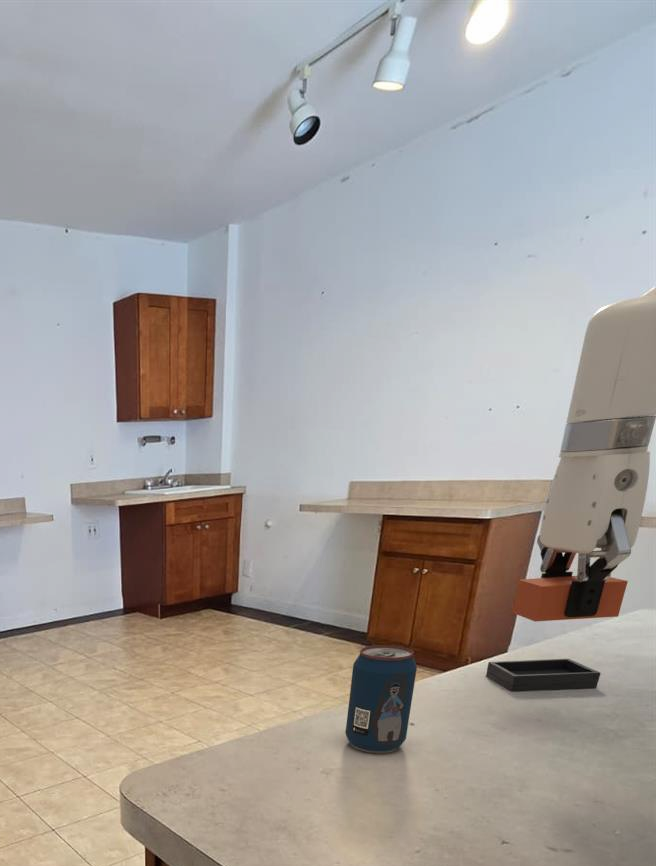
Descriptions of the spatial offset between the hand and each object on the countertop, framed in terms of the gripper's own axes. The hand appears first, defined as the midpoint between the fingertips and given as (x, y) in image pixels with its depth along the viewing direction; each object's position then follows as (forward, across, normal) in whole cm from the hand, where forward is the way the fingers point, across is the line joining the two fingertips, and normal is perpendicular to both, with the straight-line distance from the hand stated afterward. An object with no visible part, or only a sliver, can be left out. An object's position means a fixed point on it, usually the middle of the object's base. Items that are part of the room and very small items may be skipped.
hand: (564, 609), depth 75 cm
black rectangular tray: (+15, +18, -10) cm, 25 cm away
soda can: (+15, -4, +22) cm, 26 cm away
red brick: (+1, 0, 0) cm, 1 cm away
